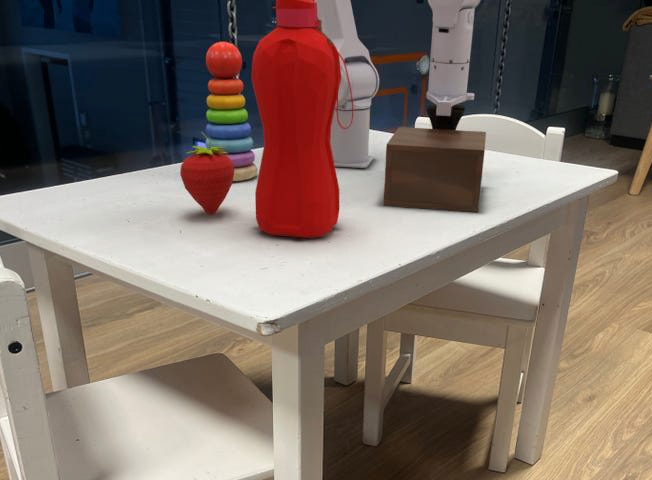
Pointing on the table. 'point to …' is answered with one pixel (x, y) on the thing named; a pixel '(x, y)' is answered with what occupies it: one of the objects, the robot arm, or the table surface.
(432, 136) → the cabinet
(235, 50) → the stacking toy
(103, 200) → the table surface
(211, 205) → the strawberry
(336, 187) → the water bottle
